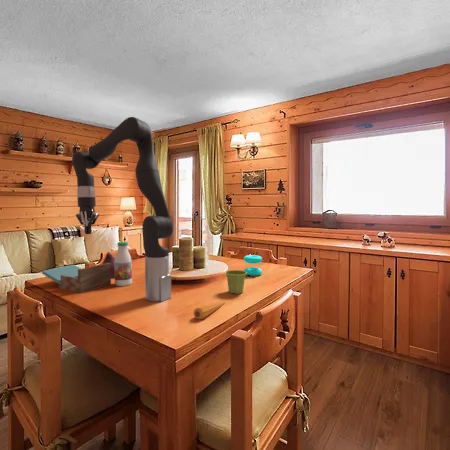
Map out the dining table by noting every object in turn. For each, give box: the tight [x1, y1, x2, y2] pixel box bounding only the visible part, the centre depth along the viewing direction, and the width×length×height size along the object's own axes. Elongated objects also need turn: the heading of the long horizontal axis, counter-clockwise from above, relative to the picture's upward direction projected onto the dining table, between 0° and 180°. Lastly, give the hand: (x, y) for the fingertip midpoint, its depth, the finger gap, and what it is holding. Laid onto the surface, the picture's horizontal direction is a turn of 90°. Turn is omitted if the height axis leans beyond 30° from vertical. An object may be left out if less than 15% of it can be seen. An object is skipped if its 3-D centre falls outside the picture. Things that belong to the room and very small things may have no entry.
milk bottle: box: [114, 241, 133, 287], centre depth 142 cm, size 8×8×20 cm
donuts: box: [243, 254, 263, 277], centre depth 164 cm, size 10×10×10 cm
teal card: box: [41, 264, 82, 284], centre depth 145 cm, size 2×16×12 cm
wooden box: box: [57, 263, 112, 294], centre depth 139 cm, size 15×16×10 cm
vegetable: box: [102, 251, 115, 280], centre depth 156 cm, size 10×10×15 cm
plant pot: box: [224, 269, 247, 295], centre depth 131 cm, size 9×9×9 cm
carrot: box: [193, 302, 225, 320], centre depth 108 cm, size 20×4×4 cm, turn 152°
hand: (88, 234), depth 140 cm, fingers closed
